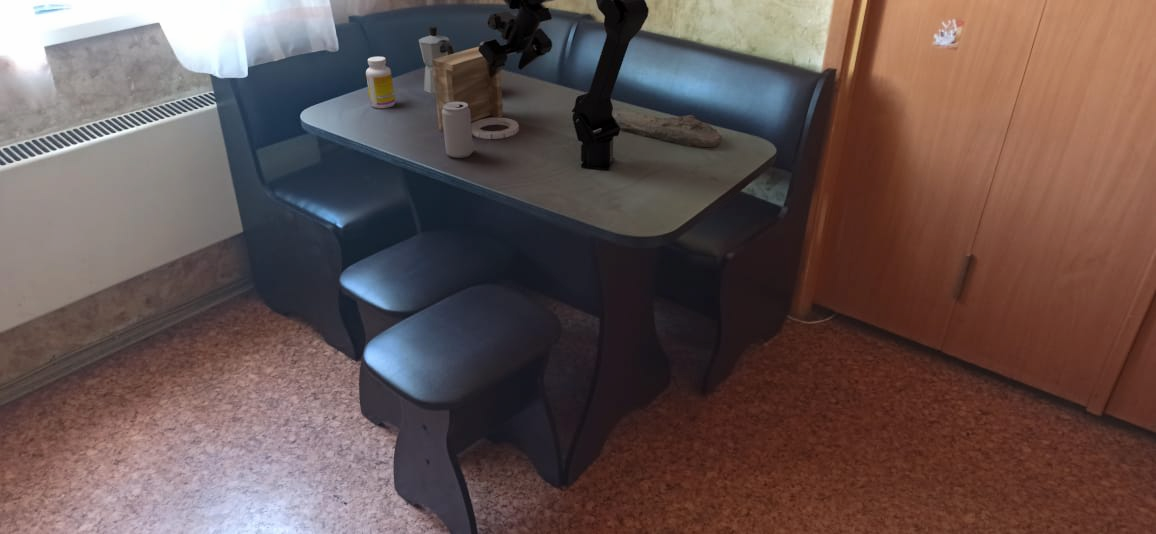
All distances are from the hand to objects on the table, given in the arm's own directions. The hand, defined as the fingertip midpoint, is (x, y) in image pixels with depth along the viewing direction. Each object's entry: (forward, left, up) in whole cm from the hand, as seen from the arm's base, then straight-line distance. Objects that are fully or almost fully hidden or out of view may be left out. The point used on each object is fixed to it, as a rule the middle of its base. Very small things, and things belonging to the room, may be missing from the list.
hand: (505, 72), depth 190 cm
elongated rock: (-36, -9, -16) cm, 40 cm away
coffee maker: (+31, -25, -15) cm, 42 cm away
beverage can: (+6, +18, -15) cm, 24 cm away
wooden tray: (+10, -2, -15) cm, 18 cm away
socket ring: (+4, +1, -15) cm, 15 cm away
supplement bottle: (+41, -9, -15) cm, 44 cm away
